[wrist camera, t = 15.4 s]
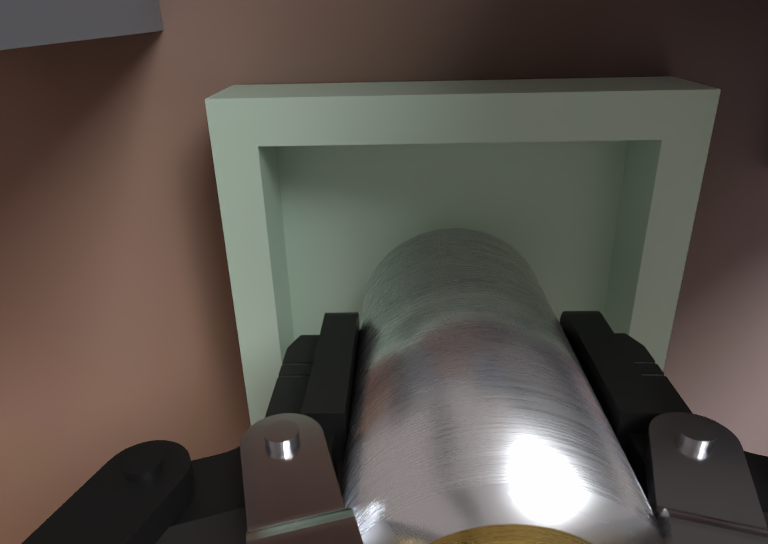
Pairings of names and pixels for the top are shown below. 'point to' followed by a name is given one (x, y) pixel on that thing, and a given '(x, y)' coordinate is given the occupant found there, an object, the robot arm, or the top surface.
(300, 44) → the top surface
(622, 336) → the robot arm
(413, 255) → the cylinder
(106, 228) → the top surface
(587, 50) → the top surface
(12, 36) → the grey block
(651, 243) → the parts tray
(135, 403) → the top surface
